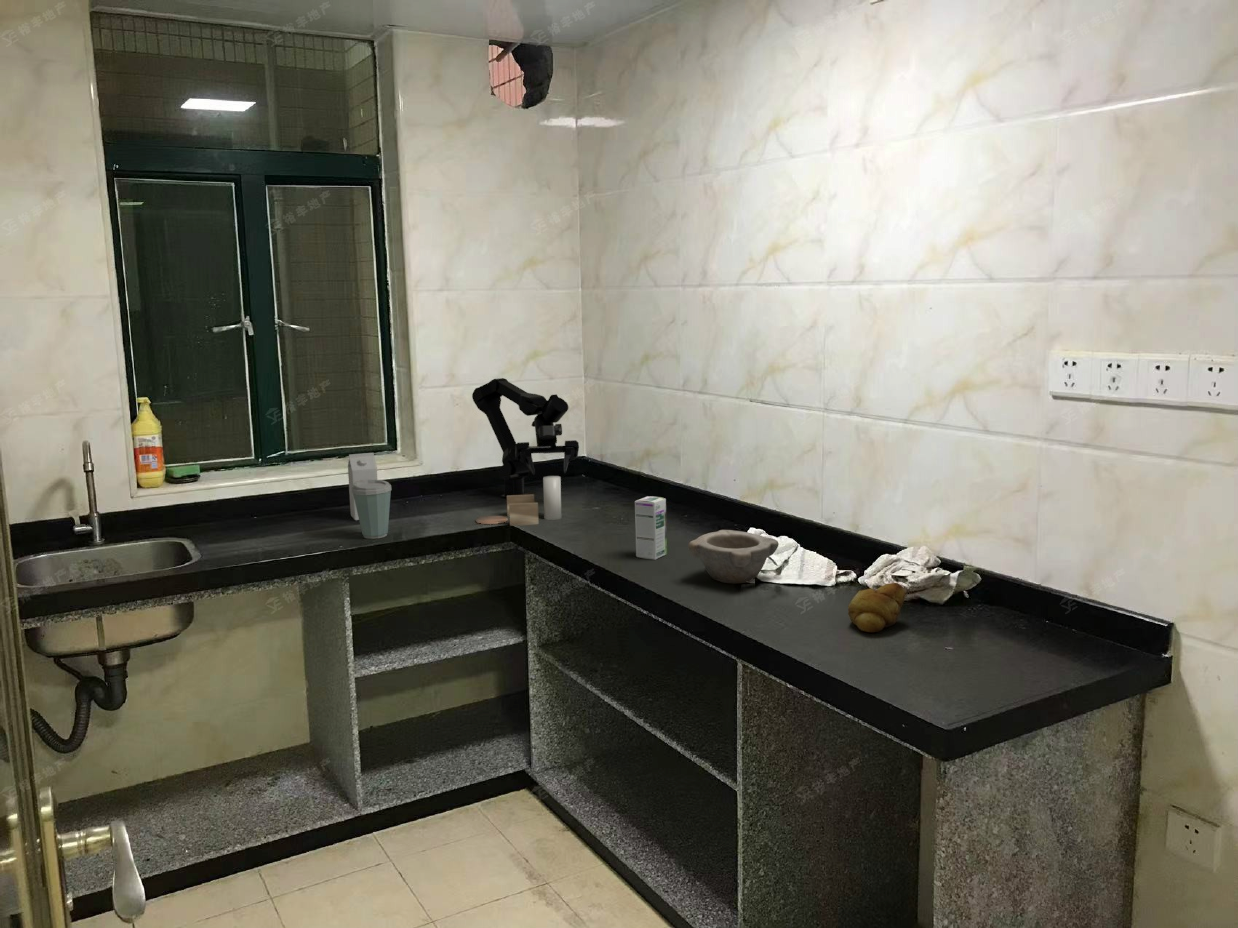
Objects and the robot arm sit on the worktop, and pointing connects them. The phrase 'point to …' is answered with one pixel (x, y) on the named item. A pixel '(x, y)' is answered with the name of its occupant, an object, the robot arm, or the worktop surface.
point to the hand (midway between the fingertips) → (549, 473)
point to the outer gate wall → (523, 513)
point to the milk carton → (360, 474)
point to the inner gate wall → (519, 500)
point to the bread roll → (877, 607)
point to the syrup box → (650, 527)
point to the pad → (491, 520)
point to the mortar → (733, 554)
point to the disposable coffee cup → (372, 506)
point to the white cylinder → (552, 497)
